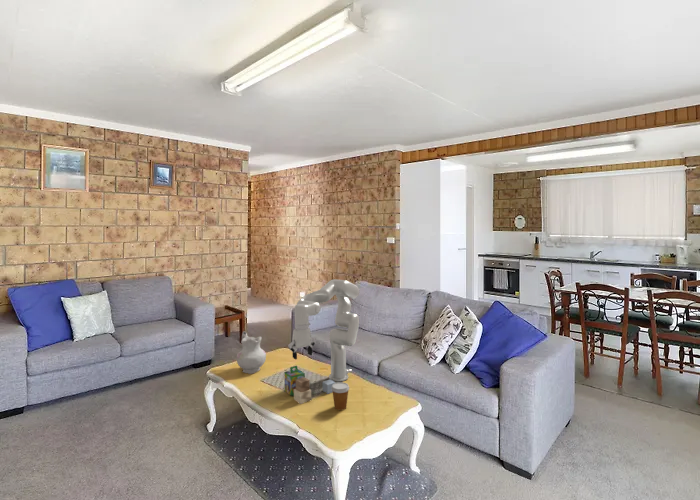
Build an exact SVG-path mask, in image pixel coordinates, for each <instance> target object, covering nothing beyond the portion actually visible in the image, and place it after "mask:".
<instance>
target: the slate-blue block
mask: <svg viewBox="0 0 700 500" xmlns="http://www.w3.org/2000/svg"><path fill="white" fill-rule="evenodd" d="M334 383H336V381H332V380H330V379H328V380H323V381H322V383H321V384H322V385H321V387H322V390H323V391H322V392H324V393H325V392H326V393H325V394H327V395H328V394H333V391H332V389H331V388H332V385H333V384H334Z"/></svg>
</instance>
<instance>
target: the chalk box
mask: <svg viewBox="0 0 700 500" xmlns="http://www.w3.org/2000/svg"><path fill="white" fill-rule="evenodd" d="M289 368H290V369H289V370H287V371H284V392H285V393H287V394H288V395H290V397H294V389H296V379H300V378H303V377H305V378H306V373H305V372H303V371H302V370H300V369H298V368H299V367H298V366H297V365H293V366H290V367H289Z"/></svg>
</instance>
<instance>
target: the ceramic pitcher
mask: <svg viewBox="0 0 700 500" xmlns="http://www.w3.org/2000/svg"><path fill="white" fill-rule="evenodd" d="M262 338H263V337H262V336H257V337H255V336H248V333H247V331H242V333H241V341H240V343H241V346H242V349H241V350H240V351H239V352H237V354H236V364H238V367H240V368H241V369H242V370H243V371H242V372H243V373H245V374H247V373H248V374H247V375H252V374H255V373H257V372H259V371H260V370H261V367H263V365H264V364H265V362H266V358H267V353H266V351H265V350H264V349H263V348H261V343H262Z"/></svg>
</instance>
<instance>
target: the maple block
mask: <svg viewBox="0 0 700 500" xmlns="http://www.w3.org/2000/svg"><path fill="white" fill-rule="evenodd" d="M293 400H294V401H295V402H297V403H298V404H299V405H301V404H305V403H307V401H308V402H310V400H311V401H312V389H310V390H307V391H304V392H299V391H298V390H296V389H294V395H293ZM304 402H305V403H304Z"/></svg>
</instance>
